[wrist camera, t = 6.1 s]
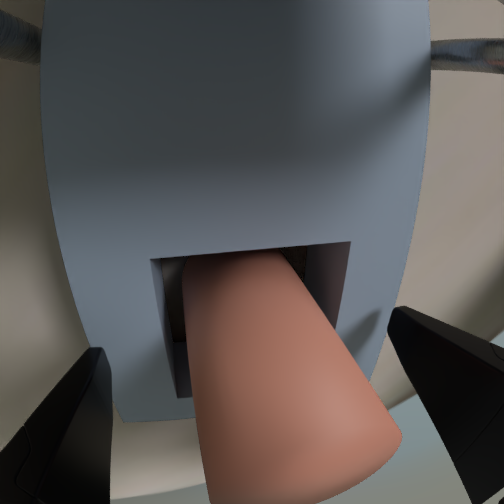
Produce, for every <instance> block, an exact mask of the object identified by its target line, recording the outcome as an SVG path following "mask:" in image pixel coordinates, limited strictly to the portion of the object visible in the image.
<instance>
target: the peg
mask: <svg viewBox="0 0 504 504" xmlns="http://www.w3.org/2000/svg"><path fill="white" fill-rule="evenodd" d="M182 292H183V305H184V318H185V329H186V340H187V350H188V359H189V369H190V377H191V386H192V394H193V401H194V409H195V416H196V423H197V430H198V437H199V443H200V450H201V456H202V462H203V468H204V473H205V479H206V484H207V490H208V494H209V500H210V503H211V504H316V503H319V502H321V501H324V500H326V499H329V498H331V497H334V496H336V495H338V494H340V493H342V492H344V491H346V490H348V489H350V488H351V487H353V486H355V485H357V484H359V483H360V482H362V481H363V480H365V479H366V478H368V477H369V476H371V475H372V474H373V473H375V472H376V471H377V470H378V469H380V468H381V467H382V466H383V465H384V464H385V463H386V462H387V461H388V460H389V459H390V458H391V457H392V456H393V455H394V453H395V452H396V451H397V449H398V447H399V445H400V443H401V440H402V433H401V431H400V429H399V428H398V426H397V425H396V423H395V422H394V420H393V418H392V417H391V415H390V414H389V412H388V411H387V409H386V407H385V406H384V404H383V403H382V401H381V400H380V398H379V397H378V395H377V393H376V392H375V390H374V389H373V387H372V386H371V384H370V383H369V381H368V380H367V378H366V377H365V375H364V374H363V372H362V370H361V369H360V367H359V366H358V364H357V363H356V361H355V360H354V358H353V357H352V355H351V354H350V352H349V351H348V349H347V348H346V346H345V345H344V343H343V342H342V340H341V339H340V337H339V336H338V334H337V333H336V331H335V330H334V328H333V327H332V325H331V324H330V322H329V321H328V319H327V318H326V316H325V315H324V313H323V312H322V310H321V309H320V307H319V306H318V304H317V303H316V301H315V300H314V299H313V297H312V296H311V294H310V293H309V291H308V290H307V288H306V287H305V285H304V284H303V282H302V281H301V279H300V278H299V277H298V275H297V274H296V272H295V271H294V269H293V268H292V266H291V265H290V263H289V262H288V261H287V259H286V258H285V256H284V255H283V253H282V252H281V251H280V249H279V248H267V249H256V250H244V251H233V252H222V253H210V254H199V255H190V257H189V258H188V260H187V262H186V264H185V267H184V270H183V274H182Z"/></svg>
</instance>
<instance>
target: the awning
mask: <svg viewBox="0 0 504 504" xmlns="http://www.w3.org/2000/svg"><path fill="white" fill-rule="evenodd" d="M498 1H500V2H501V3H502V4H504V0H498ZM41 38H42V29H40V28H38V27H36V26H34V25H32V24H30V23H28V22H26V21H24V20H22V19H20V18H18V17H15V16H13V15H11V14H9V13H7V12H5V11H2V10H0V58H3V59H9V60H14V61H19V62H24V63H29V64H33V65H38V66H40V58H41ZM430 42H431V70H451V71H471V72H485V73H495V74H504V39H502V38H476V39H451V40H437V41H430Z"/></svg>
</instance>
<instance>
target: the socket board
mask: <svg viewBox="0 0 504 504" xmlns="http://www.w3.org/2000/svg"><path fill="white" fill-rule="evenodd" d="M430 80H431V42H430V19H429V5H428V0H45V7H44V15H43V26H42V38H41V58H40V103H41V123H42V137H43V148H44V158H45V166H46V174H47V181H48V188H49V194H50V200H51V206H52V211H53V217H54V222H55V227H56V231H57V236H58V240H59V245H60V249H61V253H62V257H63V261H64V265H65V269H66V273H67V276H68V280H69V284H70V287H71V291H72V294H73V297H74V300H75V304H76V307H77V310H78V313H79V316H80V319H81V322H82V325H83V328H84V331H85V334H86V336H87V339H88V342H89V344H90V347H102V348H103V349H104V350H105V353H106V356H107V359H108V361H109V364H110V367H111V371H112V400H113V402H114V404H115V406H116V408H117V410H118V412H119V414H120V416H121V418H122V420H123V422H147V421H164V420H177V419H188V418H196V416H195V409H194V401H193V394H192V386H191V377H190V369H189V359H188V350H187V342H177V343H173V339H172V333H171V327H170V322H169V316H168V309H167V303H166V297H165V290H164V283H163V276H162V269H161V261H160V258H166V257H177V256H188V255H199V254H210V253H222V252H233V251H244V250H256V249H267V248H279V247H290V246H301V245H308V246H307V257H306V267H305V276H304V285H305V287H306V288H307V290H308V291H309V293H310V294H311V296H312V297H313V299H314V300H315V301H316V303H317V304H318V306H319V307H320V309H321V310H322V312H323V313H324V315H325V316H326V318H327V319H328V321H329V322H330V324H331V325H332V327H333V328H334V330H335V331H336V333H337V334H338V336H339V337H340V339H341V340H342V342H343V343H344V345H345V346H346V348H347V349H348V351H349V352H350V354H351V355H352V357H353V358H354V360H355V361H356V363H357V364H358V366H359V367H360V369H361V370H362V372H363V374H364V375H365V377H366V378H367V380H368V381H370V378H371V375H372V373H373V370H374V367H375V365H376V362H377V359H378V356H379V353H380V350H381V347H382V344H383V341H384V338H385V335H386V332H387V326H388V323H389V319H390V316H391V313H392V310H393V309H394V306H395V303H396V299H397V295H398V292H399V288H400V284H401V280H402V277H403V273H404V269H405V264H406V260H407V256H408V252H409V247H410V243H411V238H412V233H413V228H414V223H415V218H416V213H417V207H418V201H419V195H420V189H421V182H422V175H423V168H424V160H425V152H426V142H427V132H428V120H429V104H430Z"/></svg>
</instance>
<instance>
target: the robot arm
mask: <svg viewBox="0 0 504 504" xmlns="http://www.w3.org/2000/svg"><path fill="white" fill-rule="evenodd" d="M387 333H388V335H389V338H390V340H391V342H392V344H393V346H394V349H395V351H396V353H397V355H398V357H399V360H400V362H401V364H402V366H403V368H404V370H405V372H406V374H407V376H408V378H409V379H410V381H411V383H412V385H413V387H414V388H415V390H416V392H417V394H418V396H419V397H420V399H421V401H422V403H423V405H424V407H425V408H426V410H427V412H428V414H429V416H430V418H431V420H432V422H433V423H434V425H435V427H436V429H437V431H438V433H439V435H440V437H441V439H442V441H443V443H444V445H445V447H446V449H447V451H448V453H449V455H450V457H451V459H452V461H453V463H454V466H455V468H456V470H457V472H458V474H459V476H460V478H461V480H462V483H463V485H464V487H465V489H466V491H467V493H468V496H469V498H470V500H471V503H472V504H482V503H484V502H485V501H486V500H488V499H489V498H490V497H492V496H493V495H494V494H496V493H497V492H498V491H500V490H501V489H502V488H503V487H504V348H502V347H500V346H497V345H495V344H493V343H489V342H488V341H486V340H484V339H481V338H479V337H477V336H474V335H472V334H470V333H467V332H465V331H463V330H460V329H458V328H456V327H453V326H451V325H449V324H446V323H444V322H442V321H439V320H437V319H435V318H432V317H430V316H428V315H425V314H423V313H421V312H418V311H416V310H414V309H411V308H409V307H407V306H399V307H395V308H394V309H393V310H392V313H391V316H390V319H389V323H388V326H387ZM112 427H113V409H112V371H111V367H110V364H109V361H108V359H107V356H106V353H105V350H104V349H103V348H102V347H89V348H88V349H87V350H86V351H85V352H84V353H83V355H82V356H81V357H80V358H79V359H78V360H77V361H76V363H75V364H74V365H73V366H72V367H71V368H70V369H69V371H68V372H67V373H66V374H65V375H64V376H63V377H62V379H61V380H60V381H59V382H58V383H57V384H56V386H55V387H54V388H53V389H52V390H51V392H50V393H49V394H48V395H47V396H46V398H45V399H44V400H43V401H42V402H41V404H40V405H39V406H38V407H37V408H36V410H35V411H34V412H33V413H32V414H31V416H30V417H29V418H28V419H27V421H26V422H25V423H24V426H22V427H21V428H20V429H19V430H18V432H17V433H16V434H15V435H14V437H13V438H12V439H11V440H10V441H9V443H8V444H7V445H6V446H5V447H4V448H3V449H2V451H1V452H0V504H110V464H111V442H112ZM498 504H504V497H503V498H502V499H501V500H500V501H499V503H498Z"/></svg>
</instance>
